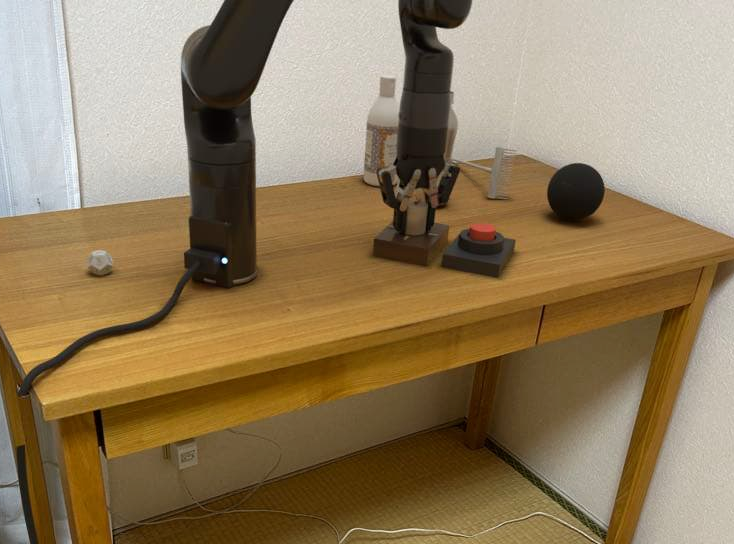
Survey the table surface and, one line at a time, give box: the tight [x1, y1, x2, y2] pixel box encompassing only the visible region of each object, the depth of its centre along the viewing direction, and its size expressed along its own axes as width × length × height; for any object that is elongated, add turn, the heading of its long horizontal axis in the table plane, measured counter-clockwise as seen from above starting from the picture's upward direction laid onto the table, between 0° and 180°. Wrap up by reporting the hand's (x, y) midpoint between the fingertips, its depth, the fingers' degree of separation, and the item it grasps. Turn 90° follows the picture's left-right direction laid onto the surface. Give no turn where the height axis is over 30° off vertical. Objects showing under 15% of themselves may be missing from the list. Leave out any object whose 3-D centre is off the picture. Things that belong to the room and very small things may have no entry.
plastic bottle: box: [415, 90, 459, 206], centre depth 148 cm, size 6×7×20 cm
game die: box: [86, 249, 114, 276], centre depth 118 cm, size 4×4×3 cm
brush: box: [451, 146, 517, 200], centre depth 168 cm, size 4×28×9 cm, turn 11°
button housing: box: [441, 227, 517, 279], centre depth 130 cm, size 12×9×4 cm
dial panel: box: [372, 220, 450, 268], centre depth 132 cm, size 12×9×3 cm
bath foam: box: [363, 74, 400, 187], centre depth 158 cm, size 7×7×20 cm
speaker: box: [546, 162, 606, 221], centre depth 148 cm, size 10×10×10 cm
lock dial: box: [404, 198, 428, 235], centre depth 130 cm, size 4×4×5 cm
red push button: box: [469, 222, 497, 241], centre depth 129 cm, size 4×4×2 cm
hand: (413, 229), depth 132 cm, fingers closed on lock dial, 4 cm apart
